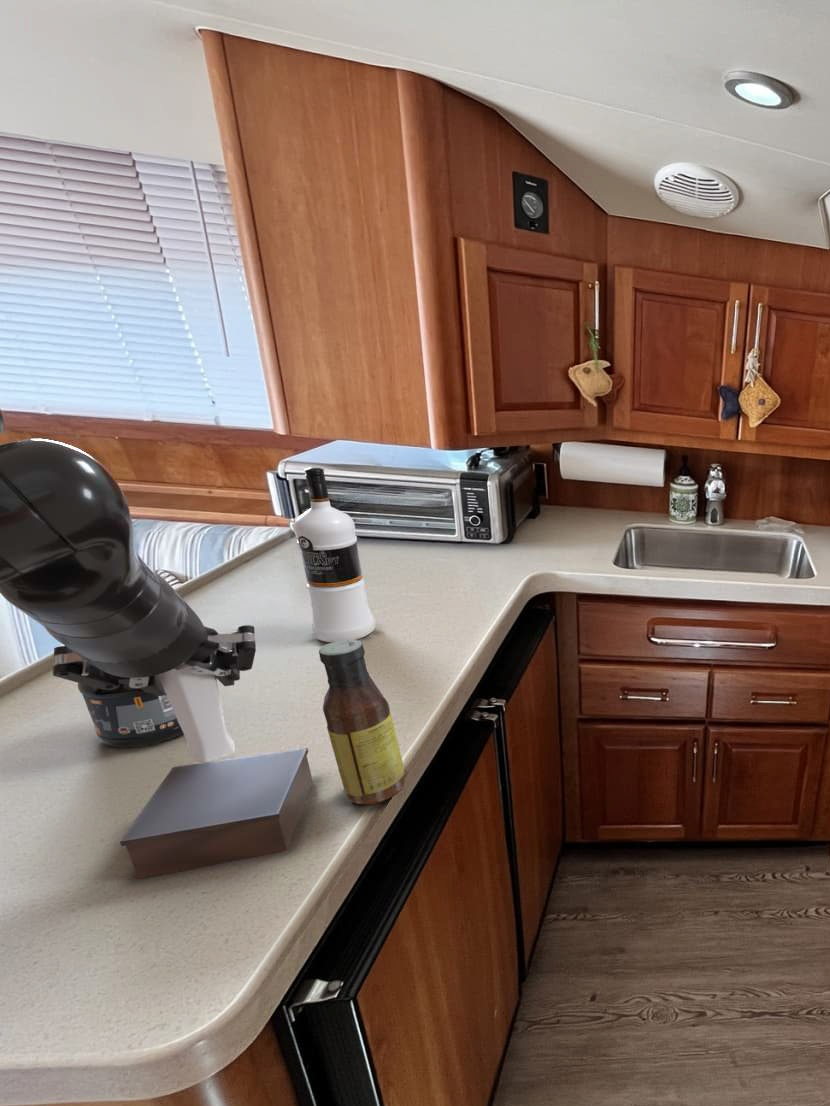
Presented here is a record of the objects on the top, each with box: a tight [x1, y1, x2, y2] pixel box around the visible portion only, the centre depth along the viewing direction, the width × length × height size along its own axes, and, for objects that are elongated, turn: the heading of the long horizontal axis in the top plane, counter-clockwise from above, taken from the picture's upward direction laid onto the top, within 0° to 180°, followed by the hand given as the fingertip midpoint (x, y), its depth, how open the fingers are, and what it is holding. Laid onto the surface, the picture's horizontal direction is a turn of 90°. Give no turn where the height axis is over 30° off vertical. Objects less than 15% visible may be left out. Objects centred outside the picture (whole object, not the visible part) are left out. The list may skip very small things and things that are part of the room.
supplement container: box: [77, 670, 184, 748], centre depth 83 cm, size 10×10×12 cm
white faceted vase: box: [158, 669, 236, 763], centre depth 64 cm, size 5×4×15 cm
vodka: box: [293, 466, 376, 643], centre depth 109 cm, size 9×9×30 cm
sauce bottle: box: [318, 639, 406, 805], centre depth 74 cm, size 7×6×20 cm
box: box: [119, 747, 314, 880], centre depth 70 cm, size 12×12×5 cm
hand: (196, 681), depth 66 cm, fingers closed on white faceted vase, 4 cm apart
